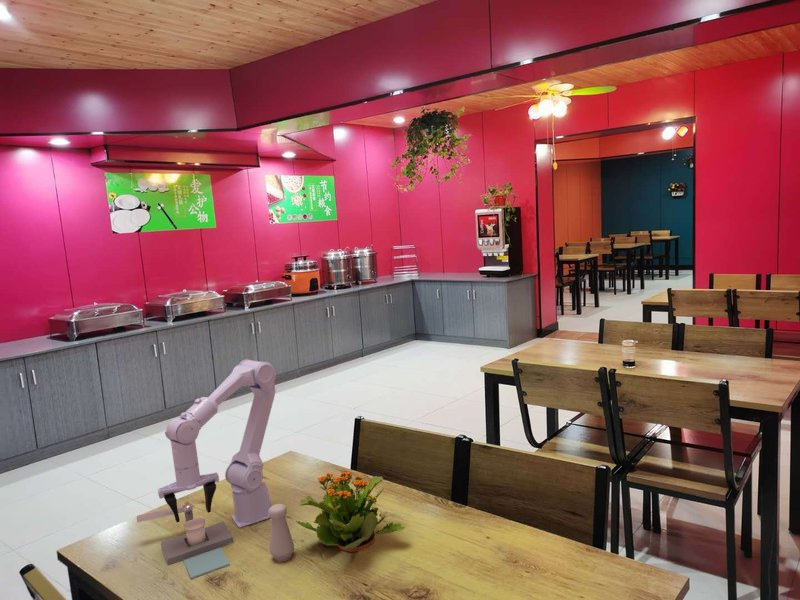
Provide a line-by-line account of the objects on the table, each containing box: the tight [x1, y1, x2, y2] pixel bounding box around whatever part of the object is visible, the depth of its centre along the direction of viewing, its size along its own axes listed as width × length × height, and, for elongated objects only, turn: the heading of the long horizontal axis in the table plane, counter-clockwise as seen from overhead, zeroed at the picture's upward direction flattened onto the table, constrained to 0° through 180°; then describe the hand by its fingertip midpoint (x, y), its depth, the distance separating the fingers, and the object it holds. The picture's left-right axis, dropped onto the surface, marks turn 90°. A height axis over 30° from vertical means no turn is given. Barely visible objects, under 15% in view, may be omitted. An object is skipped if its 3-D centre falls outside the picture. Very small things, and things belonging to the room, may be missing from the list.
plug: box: [183, 517, 207, 547], centre depth 148 cm, size 5×5×6 cm
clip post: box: [183, 510, 194, 523], centre depth 155 cm, size 2×2×6 cm
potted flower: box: [295, 471, 406, 553], centre depth 142 cm, size 25×24×18 cm
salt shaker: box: [268, 503, 295, 563], centre depth 139 cm, size 6×6×13 cm
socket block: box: [160, 521, 234, 566], centre depth 148 cm, size 16×10×2 cm, turn 121°
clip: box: [136, 503, 194, 523], centre depth 153 cm, size 14×2×1 cm, turn 110°
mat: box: [183, 547, 231, 580], centre depth 140 cm, size 9×9×1 cm
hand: (193, 515), depth 148 cm, fingers open, 7 cm apart
